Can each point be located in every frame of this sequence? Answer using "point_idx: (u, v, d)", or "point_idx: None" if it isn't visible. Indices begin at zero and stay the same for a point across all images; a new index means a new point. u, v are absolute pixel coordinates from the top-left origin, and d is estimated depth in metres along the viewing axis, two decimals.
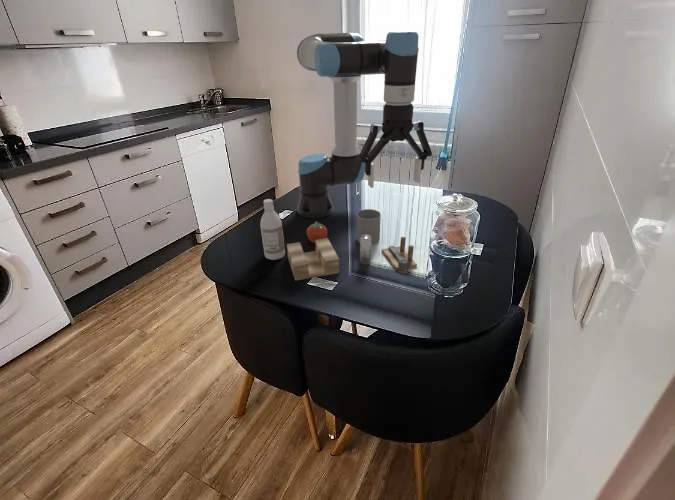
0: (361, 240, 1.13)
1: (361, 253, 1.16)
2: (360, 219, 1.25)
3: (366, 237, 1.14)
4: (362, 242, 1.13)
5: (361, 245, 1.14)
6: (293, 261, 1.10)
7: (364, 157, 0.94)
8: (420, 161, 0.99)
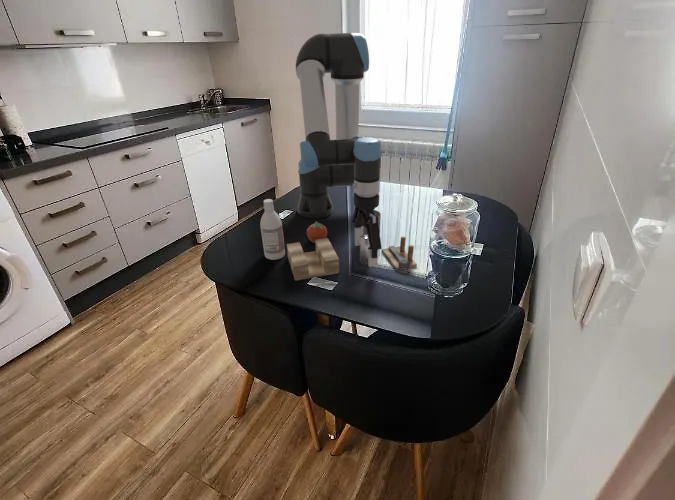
0: (361, 240, 1.13)
1: (361, 253, 1.16)
2: None
3: (366, 237, 1.14)
4: (362, 242, 1.13)
5: (361, 245, 1.14)
6: (293, 261, 1.10)
7: (353, 219, 1.20)
8: None
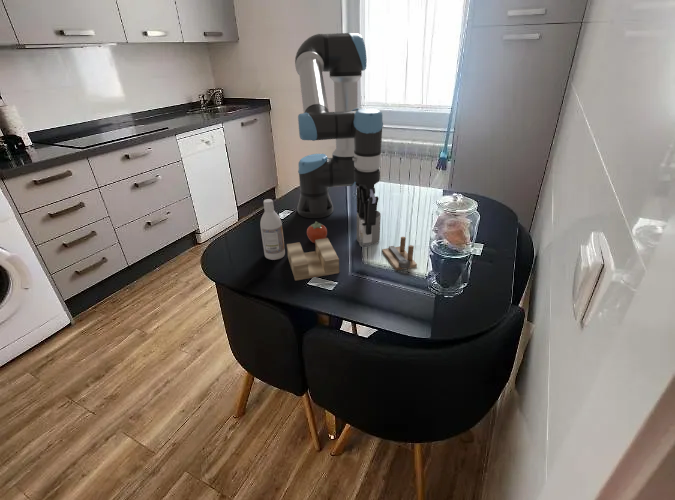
0: (361, 222, 1.11)
1: (361, 236, 1.13)
2: None
3: None
4: (362, 225, 1.11)
5: (361, 228, 1.12)
6: (293, 261, 1.10)
7: (357, 208, 1.14)
8: (363, 225, 1.10)
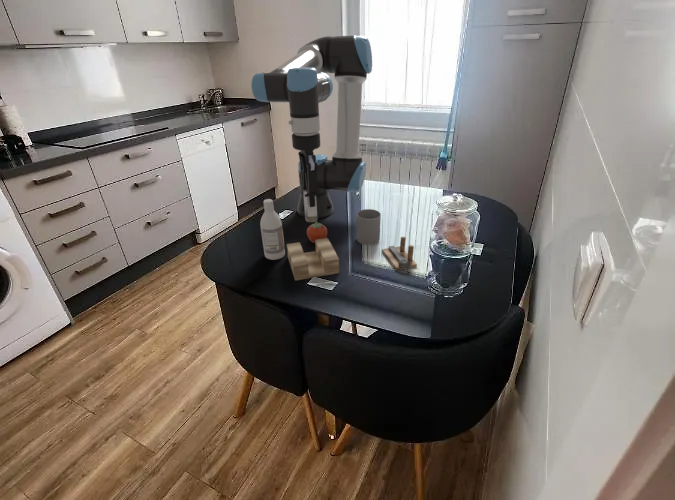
0: (304, 194, 1.04)
1: (305, 209, 1.06)
2: (360, 219, 1.25)
3: None
4: (305, 197, 1.04)
5: (305, 200, 1.05)
6: (293, 261, 1.10)
7: (301, 180, 1.07)
8: (306, 197, 1.03)
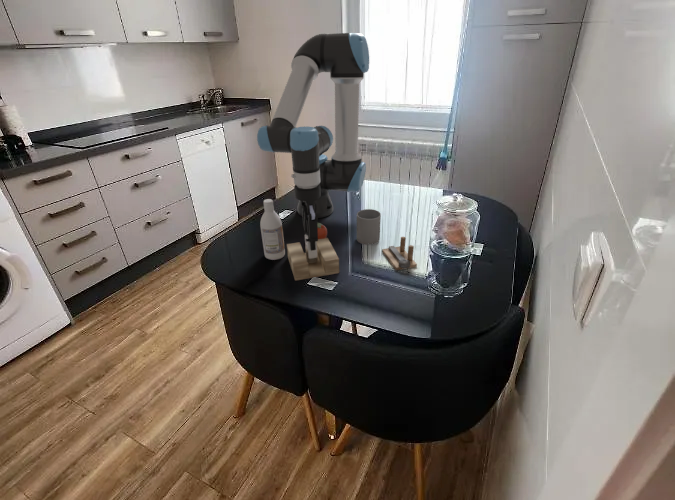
0: (305, 238, 1.11)
1: (306, 252, 1.13)
2: (360, 219, 1.25)
3: None
4: None
5: (306, 243, 1.12)
6: (293, 261, 1.10)
7: (303, 224, 1.14)
8: None
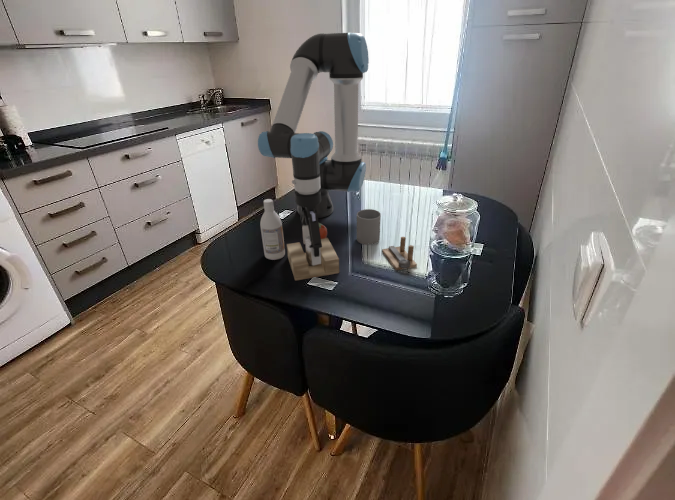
0: (306, 242, 1.12)
1: (307, 255, 1.14)
2: (360, 219, 1.25)
3: None
4: (307, 244, 1.12)
5: (306, 247, 1.12)
6: (293, 261, 1.10)
7: None
8: None
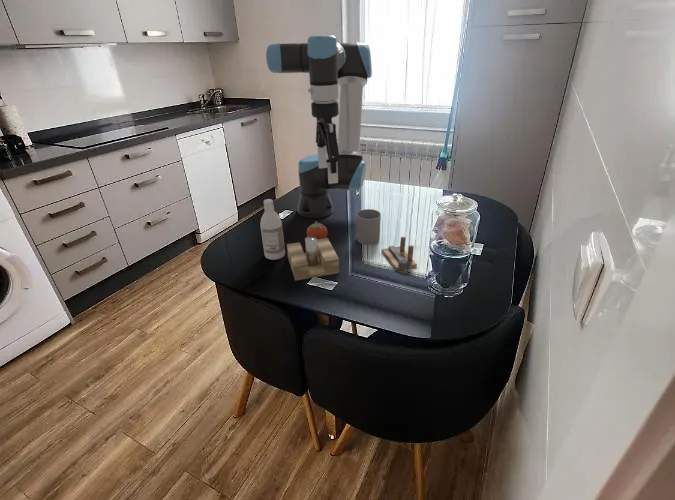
0: (306, 242, 1.12)
1: (307, 255, 1.14)
2: (360, 219, 1.25)
3: (311, 239, 1.12)
4: (307, 244, 1.12)
5: (306, 247, 1.12)
6: (293, 261, 1.10)
7: (316, 139, 1.13)
8: (327, 163, 1.01)
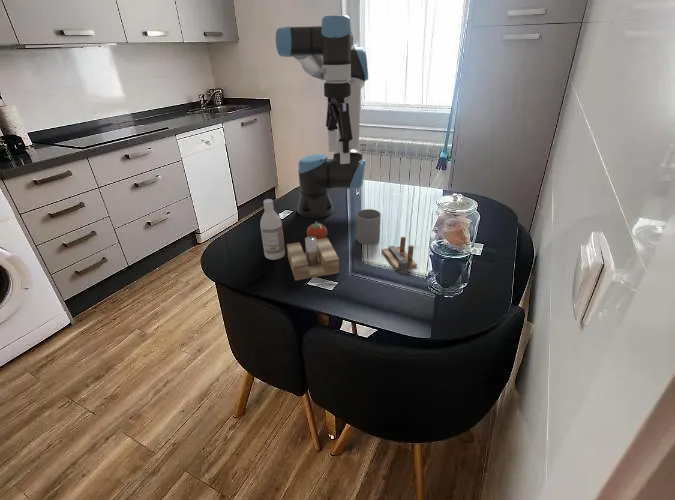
0: (306, 242, 1.12)
1: (307, 255, 1.14)
2: (360, 219, 1.25)
3: (311, 239, 1.12)
4: (307, 244, 1.12)
5: (306, 247, 1.12)
6: (293, 261, 1.10)
7: (326, 122, 1.14)
8: (340, 142, 1.02)
